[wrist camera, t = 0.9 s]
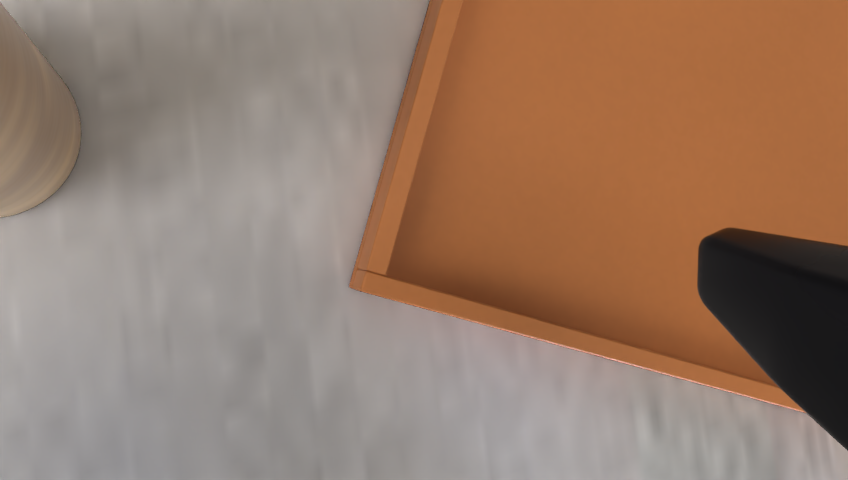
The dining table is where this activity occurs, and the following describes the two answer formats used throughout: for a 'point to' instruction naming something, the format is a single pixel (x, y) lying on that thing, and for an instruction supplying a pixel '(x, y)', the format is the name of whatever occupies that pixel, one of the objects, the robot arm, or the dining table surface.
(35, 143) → the disc
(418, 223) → the tray
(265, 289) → the dining table surface
